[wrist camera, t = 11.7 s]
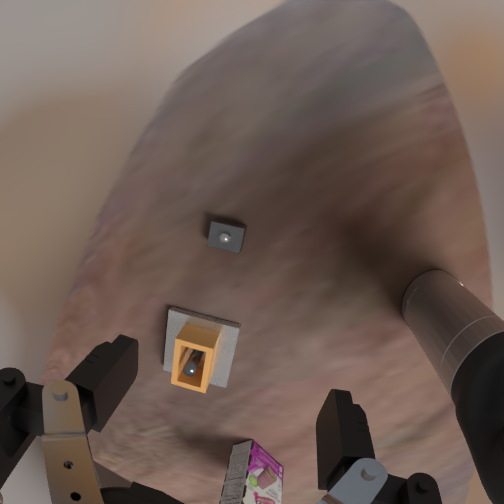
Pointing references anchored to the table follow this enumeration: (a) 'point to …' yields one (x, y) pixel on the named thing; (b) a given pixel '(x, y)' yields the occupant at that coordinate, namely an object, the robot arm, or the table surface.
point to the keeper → (197, 357)
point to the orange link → (198, 341)
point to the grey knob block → (226, 235)
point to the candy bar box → (252, 476)
